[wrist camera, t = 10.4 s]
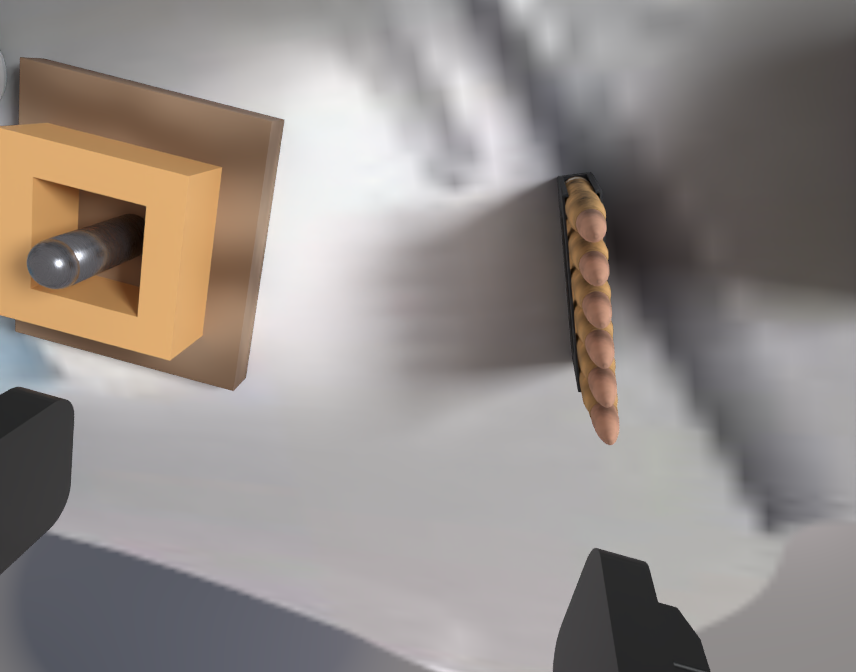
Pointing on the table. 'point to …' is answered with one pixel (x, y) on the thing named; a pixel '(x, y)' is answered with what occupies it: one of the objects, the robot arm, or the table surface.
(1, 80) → the energy drink can
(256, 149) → the stand
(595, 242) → the ammunition clip
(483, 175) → the table surface
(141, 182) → the ring
